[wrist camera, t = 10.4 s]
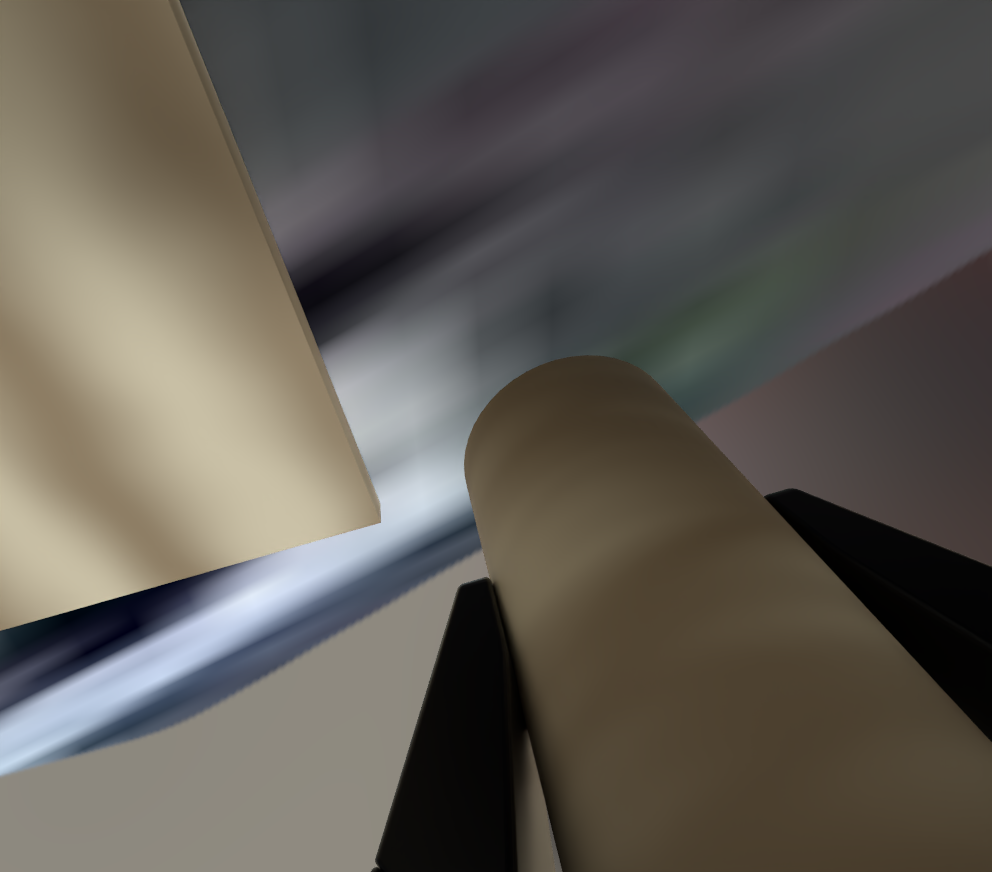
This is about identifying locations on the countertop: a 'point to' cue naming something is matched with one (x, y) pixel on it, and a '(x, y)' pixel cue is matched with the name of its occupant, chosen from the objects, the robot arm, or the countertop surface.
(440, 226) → the countertop surface
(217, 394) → the wall board
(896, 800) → the dowel
